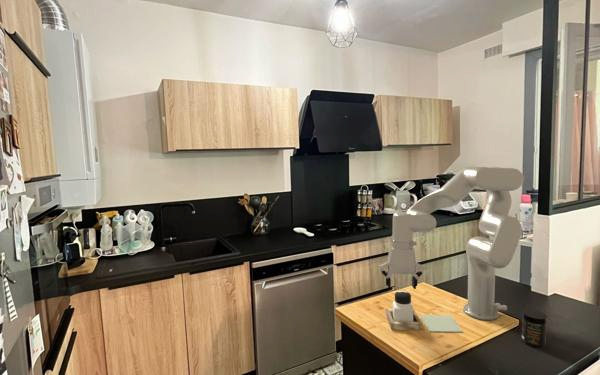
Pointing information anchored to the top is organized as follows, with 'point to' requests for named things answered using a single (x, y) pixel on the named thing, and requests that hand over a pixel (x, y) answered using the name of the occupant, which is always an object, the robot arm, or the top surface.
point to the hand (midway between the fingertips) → (401, 287)
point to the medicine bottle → (403, 307)
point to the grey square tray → (403, 325)
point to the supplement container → (534, 328)
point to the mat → (440, 323)
